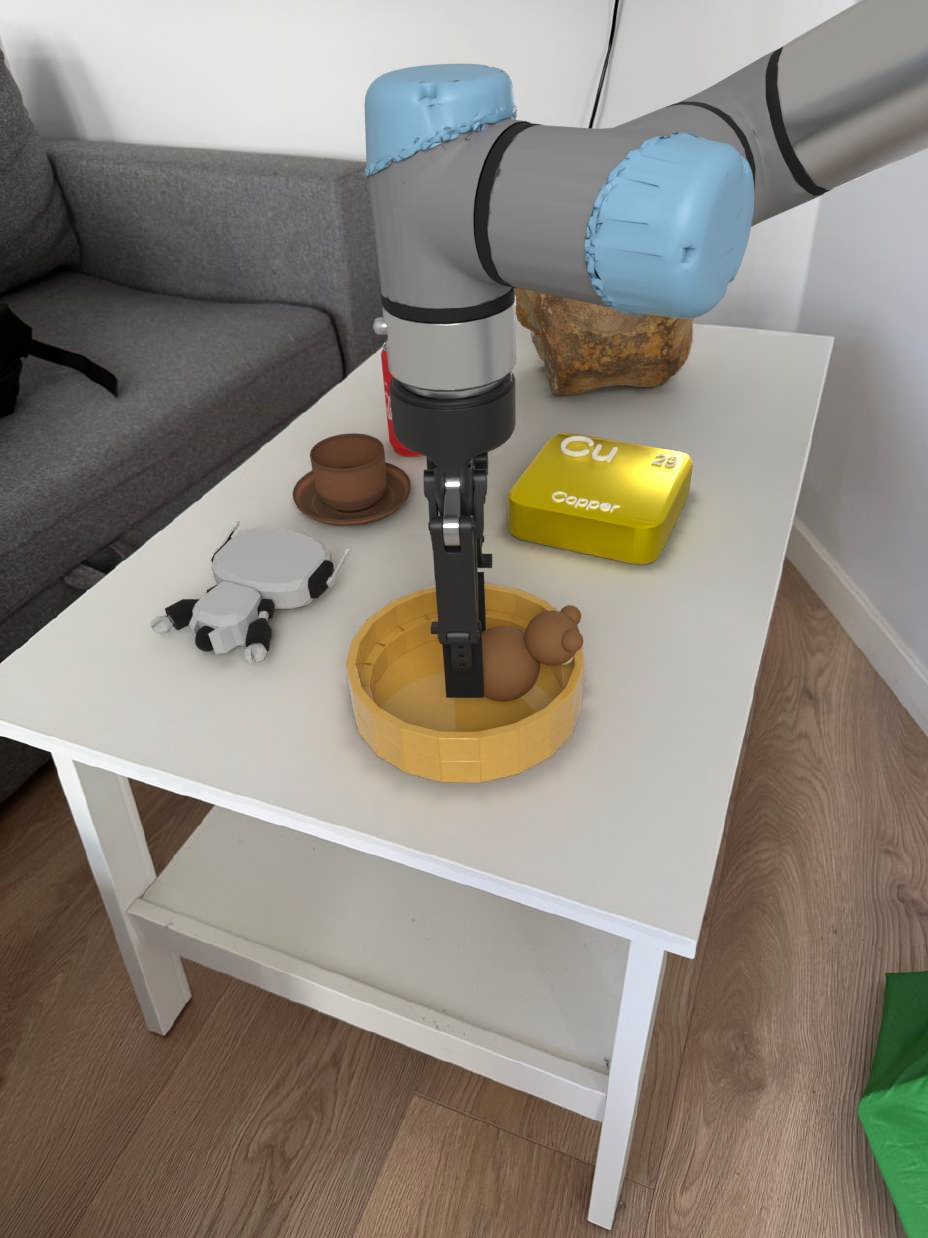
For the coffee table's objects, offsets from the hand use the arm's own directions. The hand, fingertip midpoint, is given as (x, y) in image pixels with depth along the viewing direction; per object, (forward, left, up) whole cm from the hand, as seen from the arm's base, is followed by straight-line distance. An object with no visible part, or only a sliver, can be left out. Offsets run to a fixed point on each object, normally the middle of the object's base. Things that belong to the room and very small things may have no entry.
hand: (466, 667), depth 68 cm
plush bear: (0, 0, -1) cm, 1 cm away
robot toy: (+19, -11, -4) cm, 22 cm away
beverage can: (+8, -41, -4) cm, 42 cm away
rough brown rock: (-13, -58, -4) cm, 60 cm away
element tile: (-12, -27, -4) cm, 30 cm away
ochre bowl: (0, 0, -4) cm, 4 cm away
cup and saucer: (+13, -29, -4) cm, 32 cm away
